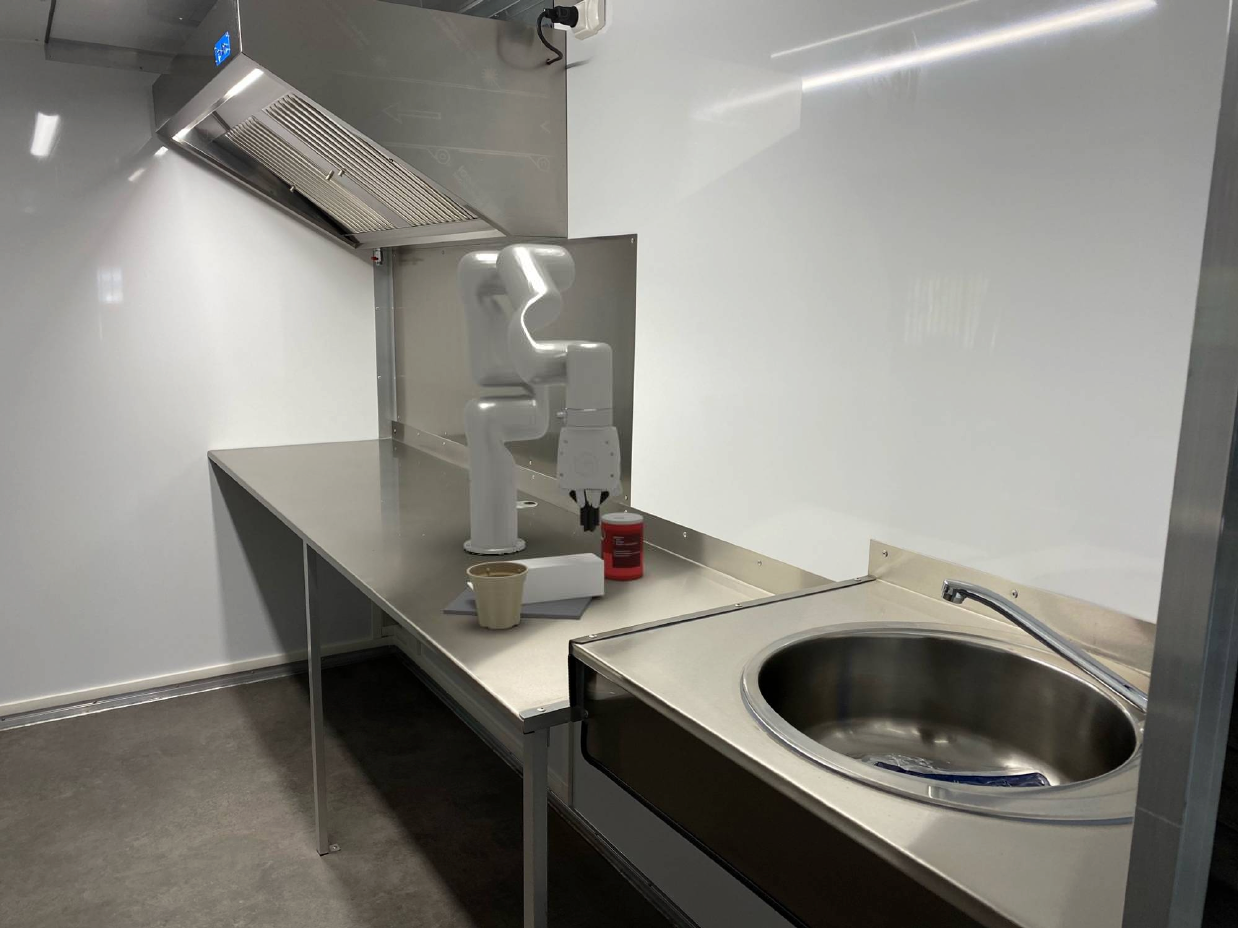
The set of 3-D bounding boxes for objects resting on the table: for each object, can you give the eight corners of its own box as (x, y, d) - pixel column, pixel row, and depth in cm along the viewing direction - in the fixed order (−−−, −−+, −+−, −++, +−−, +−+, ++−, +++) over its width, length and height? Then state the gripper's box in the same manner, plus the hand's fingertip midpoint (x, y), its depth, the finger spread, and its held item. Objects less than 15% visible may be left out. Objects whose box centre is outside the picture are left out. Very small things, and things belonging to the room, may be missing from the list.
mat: (479, 580, 167) (479, 576, 167) (600, 584, 164) (600, 581, 164) (443, 613, 147) (443, 609, 147) (579, 619, 144) (579, 615, 144)
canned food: (618, 567, 176) (618, 510, 174) (652, 574, 171) (652, 516, 169) (592, 575, 170) (591, 517, 168) (626, 583, 165) (626, 522, 163)
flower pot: (486, 637, 136) (484, 580, 135) (457, 621, 143) (455, 567, 142) (541, 625, 141) (540, 570, 140) (510, 610, 149) (509, 558, 148)
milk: (604, 594, 155) (475, 611, 147) (591, 585, 161) (466, 601, 153) (604, 559, 154) (474, 574, 146) (591, 551, 160) (465, 565, 152)
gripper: (538, 420, 147) (540, 533, 150) (632, 422, 145) (632, 536, 148) (549, 416, 154) (550, 524, 157) (637, 417, 152) (637, 526, 155)
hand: (589, 529), depth 152 cm, fingers closed
